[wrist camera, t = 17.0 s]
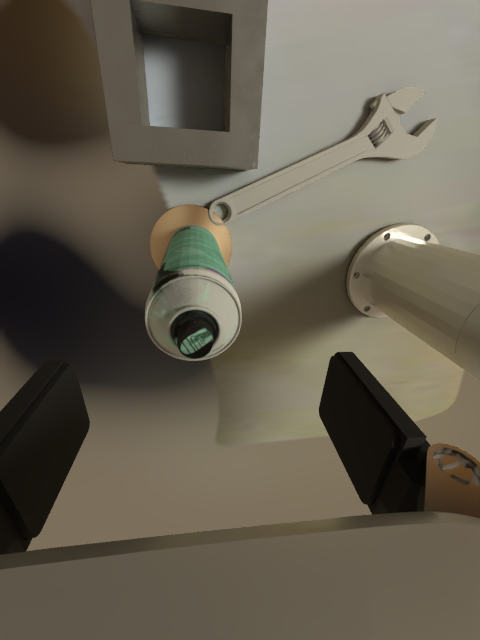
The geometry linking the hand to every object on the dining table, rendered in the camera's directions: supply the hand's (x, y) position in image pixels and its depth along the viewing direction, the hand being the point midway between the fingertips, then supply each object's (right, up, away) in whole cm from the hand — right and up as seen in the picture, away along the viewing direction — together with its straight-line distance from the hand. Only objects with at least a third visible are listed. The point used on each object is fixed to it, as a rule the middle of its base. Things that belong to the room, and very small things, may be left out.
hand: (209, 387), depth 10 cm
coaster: (-4, +11, +21) cm, 24 cm away
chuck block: (-4, +23, +15) cm, 28 cm away
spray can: (-4, +10, +20) cm, 23 cm away
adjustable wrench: (+9, +20, +19) cm, 29 cm away
